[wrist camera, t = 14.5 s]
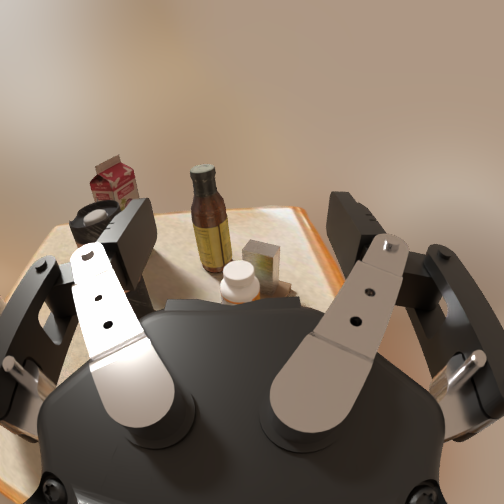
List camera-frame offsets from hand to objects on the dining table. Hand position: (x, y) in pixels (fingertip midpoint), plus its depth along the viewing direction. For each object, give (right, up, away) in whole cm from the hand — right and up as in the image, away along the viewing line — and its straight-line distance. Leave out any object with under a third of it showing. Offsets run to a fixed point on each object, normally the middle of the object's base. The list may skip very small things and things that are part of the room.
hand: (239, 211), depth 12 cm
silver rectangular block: (+2, -8, +34) cm, 35 cm away
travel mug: (-19, -13, +30) cm, 38 cm away
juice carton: (-26, -2, +45) cm, 53 cm away
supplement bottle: (-1, -12, +29) cm, 31 cm away
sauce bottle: (-6, -4, +41) cm, 42 cm away
